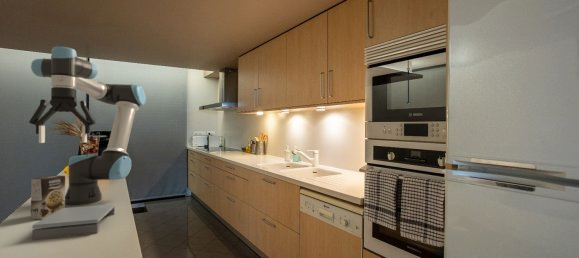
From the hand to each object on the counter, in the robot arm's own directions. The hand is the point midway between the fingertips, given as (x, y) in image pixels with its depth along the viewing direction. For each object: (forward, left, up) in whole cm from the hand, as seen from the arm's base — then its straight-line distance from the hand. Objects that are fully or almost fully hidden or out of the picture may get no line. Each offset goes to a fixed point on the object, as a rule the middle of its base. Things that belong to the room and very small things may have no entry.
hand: (63, 142), depth 106 cm
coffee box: (-11, -9, -31) cm, 34 cm away
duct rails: (+6, +7, -31) cm, 32 cm away
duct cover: (+6, +7, -27) cm, 29 cm away
